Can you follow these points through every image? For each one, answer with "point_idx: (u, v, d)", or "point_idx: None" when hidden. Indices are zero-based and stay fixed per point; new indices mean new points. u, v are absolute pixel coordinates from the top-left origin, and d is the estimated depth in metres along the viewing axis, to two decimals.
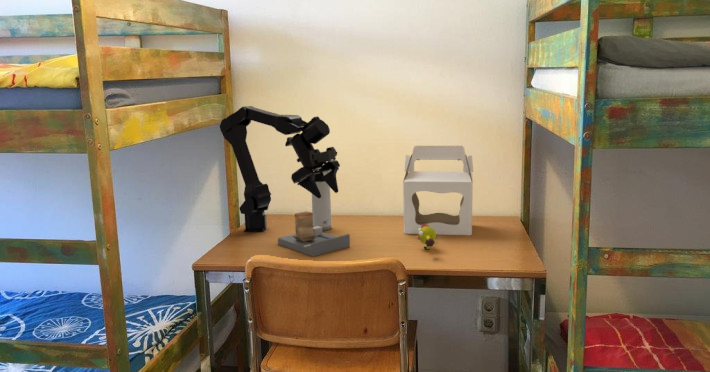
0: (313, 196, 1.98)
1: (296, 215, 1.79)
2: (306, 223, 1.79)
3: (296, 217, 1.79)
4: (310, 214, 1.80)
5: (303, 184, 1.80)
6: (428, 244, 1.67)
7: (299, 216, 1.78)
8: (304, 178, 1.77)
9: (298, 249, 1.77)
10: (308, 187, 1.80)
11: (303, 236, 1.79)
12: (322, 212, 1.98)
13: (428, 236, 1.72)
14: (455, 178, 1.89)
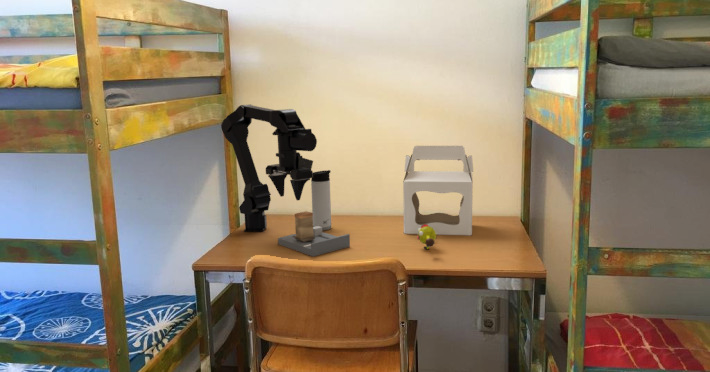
0: (313, 196, 1.98)
1: (296, 215, 1.79)
2: (306, 223, 1.79)
3: (296, 217, 1.79)
4: (310, 214, 1.80)
5: (296, 183, 1.82)
6: (428, 244, 1.67)
7: (299, 216, 1.78)
8: (305, 179, 1.83)
9: (298, 249, 1.77)
10: (297, 187, 1.84)
11: (303, 236, 1.79)
12: (322, 212, 1.98)
13: (428, 236, 1.72)
14: (455, 178, 1.89)
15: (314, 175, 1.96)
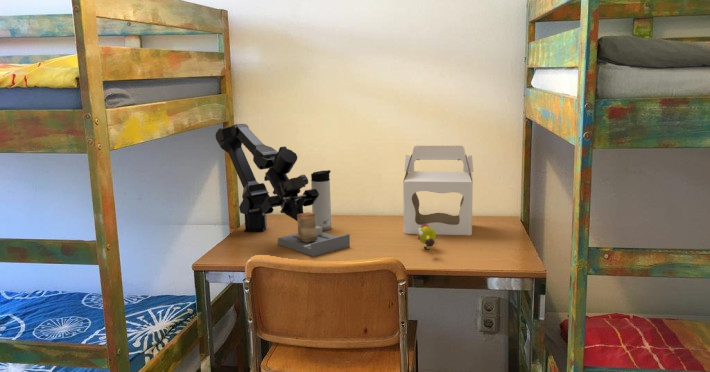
0: None
1: (299, 216, 1.78)
2: (309, 224, 1.78)
3: (299, 218, 1.78)
4: (313, 215, 1.79)
5: (286, 212, 1.83)
6: (428, 244, 1.67)
7: (302, 217, 1.77)
8: (284, 205, 1.81)
9: (298, 249, 1.77)
10: (291, 214, 1.82)
11: (306, 237, 1.78)
12: (322, 212, 1.98)
13: (428, 236, 1.72)
14: (455, 178, 1.89)
15: (314, 175, 1.96)
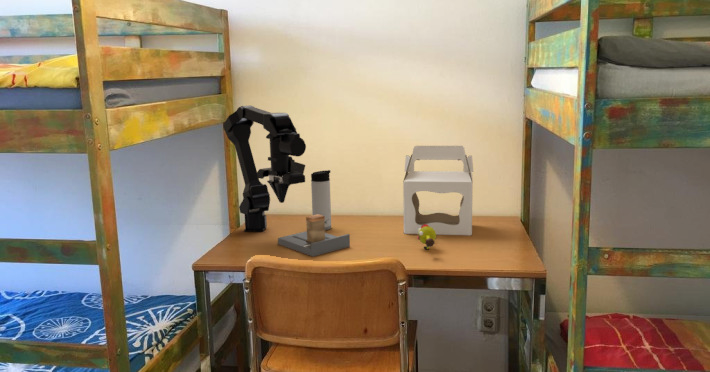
0: (313, 196, 1.98)
1: (308, 218, 1.75)
2: (318, 226, 1.75)
3: (308, 220, 1.75)
4: (322, 217, 1.75)
5: (280, 185, 1.84)
6: (428, 244, 1.67)
7: (311, 219, 1.73)
8: None
9: (298, 249, 1.77)
10: (281, 190, 1.85)
11: (315, 240, 1.75)
12: (322, 212, 1.98)
13: (428, 236, 1.72)
14: (455, 178, 1.89)
15: (314, 175, 1.96)
